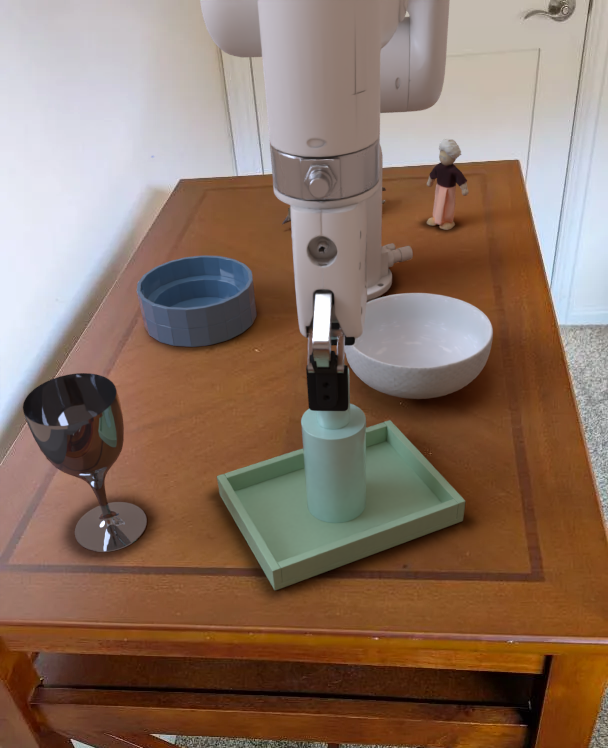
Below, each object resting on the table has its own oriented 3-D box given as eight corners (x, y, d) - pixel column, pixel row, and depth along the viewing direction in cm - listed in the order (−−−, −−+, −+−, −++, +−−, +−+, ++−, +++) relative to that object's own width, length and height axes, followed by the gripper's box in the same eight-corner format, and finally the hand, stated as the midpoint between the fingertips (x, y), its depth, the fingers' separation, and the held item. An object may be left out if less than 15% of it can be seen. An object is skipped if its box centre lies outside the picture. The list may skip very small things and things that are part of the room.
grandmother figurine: (416, 225, 122) (420, 139, 114) (427, 216, 125) (432, 131, 116) (460, 234, 119) (467, 147, 110) (471, 225, 121) (479, 139, 112)
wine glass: (75, 503, 79) (31, 377, 68) (153, 496, 79) (120, 369, 68) (65, 559, 73) (14, 430, 62) (148, 550, 73) (112, 421, 63)
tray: (389, 439, 83) (390, 419, 81) (463, 521, 74) (465, 500, 72) (219, 495, 78) (216, 475, 76) (274, 591, 69) (272, 571, 67)
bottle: (349, 477, 78) (347, 346, 68) (376, 511, 74) (378, 378, 64) (297, 495, 77) (286, 364, 66) (322, 530, 73) (314, 397, 62)
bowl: (234, 287, 111) (228, 246, 107) (273, 333, 101) (269, 290, 97) (133, 313, 107) (124, 272, 103) (164, 363, 97) (155, 320, 93)
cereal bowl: (470, 433, 83) (477, 376, 78) (325, 409, 88) (322, 354, 83) (498, 352, 94) (505, 299, 89) (368, 335, 99) (368, 283, 94)
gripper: (375, 218, 47) (373, 438, 59) (383, 122, 59) (380, 322, 71) (254, 220, 48) (277, 437, 60) (286, 125, 60) (300, 322, 72)
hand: (333, 374), depth 66 cm, fingers open, 9 cm apart
